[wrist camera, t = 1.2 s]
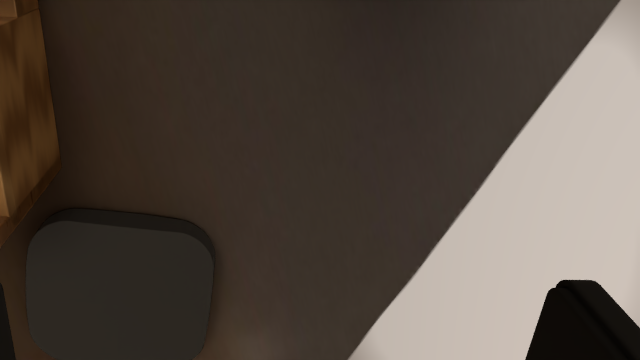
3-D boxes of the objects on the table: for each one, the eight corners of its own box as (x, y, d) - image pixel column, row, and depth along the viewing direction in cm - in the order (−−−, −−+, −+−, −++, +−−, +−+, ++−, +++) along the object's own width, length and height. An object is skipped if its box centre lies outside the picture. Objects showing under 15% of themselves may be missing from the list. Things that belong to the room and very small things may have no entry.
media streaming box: (35, 200, 44) (21, 218, 42) (221, 220, 47) (219, 239, 44) (39, 343, 50) (26, 367, 48) (203, 354, 53) (200, 378, 50)
